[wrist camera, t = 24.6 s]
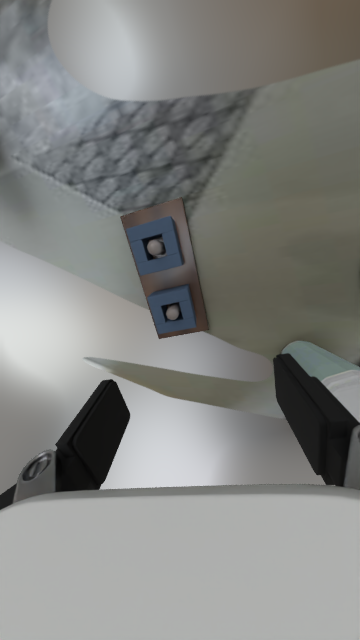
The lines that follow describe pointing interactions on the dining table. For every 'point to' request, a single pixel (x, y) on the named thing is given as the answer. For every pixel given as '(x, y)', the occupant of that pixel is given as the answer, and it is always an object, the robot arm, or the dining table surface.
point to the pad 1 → (151, 231)
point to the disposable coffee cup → (330, 373)
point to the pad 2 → (159, 309)
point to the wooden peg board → (172, 275)
